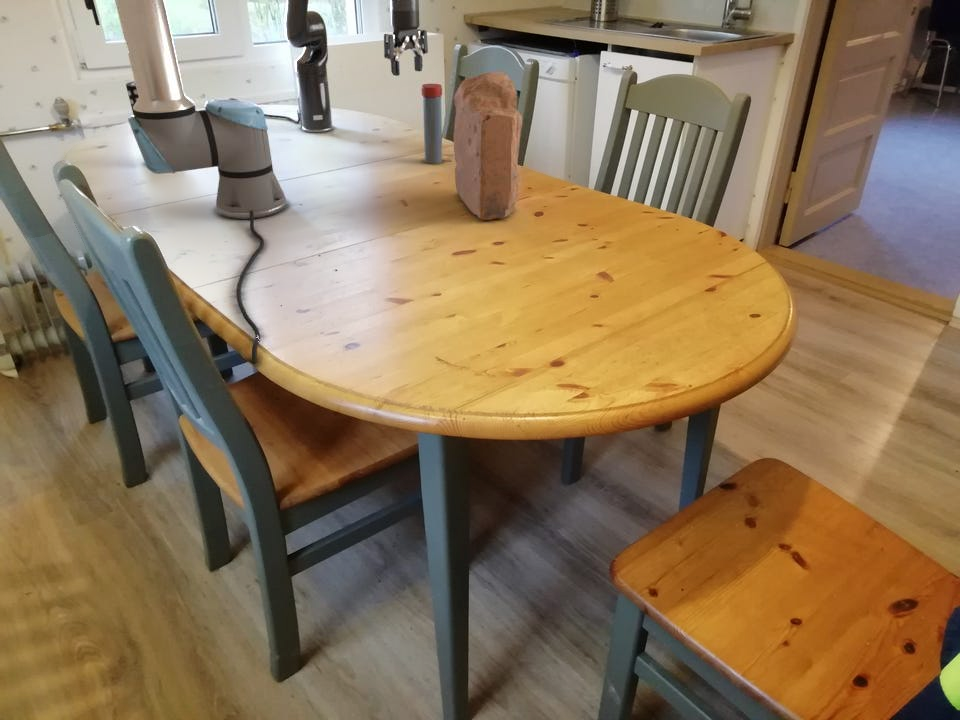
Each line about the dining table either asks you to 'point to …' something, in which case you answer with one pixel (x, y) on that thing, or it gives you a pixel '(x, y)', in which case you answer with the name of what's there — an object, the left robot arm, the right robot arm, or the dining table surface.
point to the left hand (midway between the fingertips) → (128, 23)
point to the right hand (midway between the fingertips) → (407, 73)
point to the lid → (431, 90)
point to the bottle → (432, 129)
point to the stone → (487, 145)
